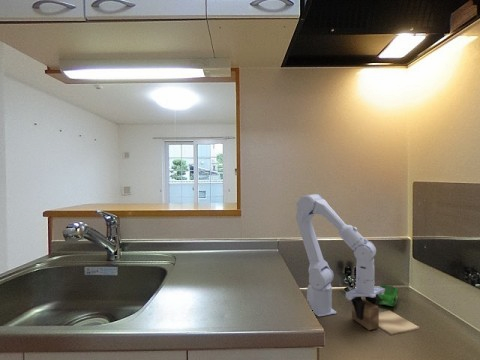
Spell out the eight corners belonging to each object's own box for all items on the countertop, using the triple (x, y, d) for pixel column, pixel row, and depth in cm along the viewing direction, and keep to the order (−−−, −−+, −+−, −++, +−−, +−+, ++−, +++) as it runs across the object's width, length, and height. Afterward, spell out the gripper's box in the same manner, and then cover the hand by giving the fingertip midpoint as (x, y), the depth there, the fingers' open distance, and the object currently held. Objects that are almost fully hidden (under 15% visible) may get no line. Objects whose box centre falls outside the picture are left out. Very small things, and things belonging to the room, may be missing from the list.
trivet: (363, 317, 99) (363, 315, 99) (389, 311, 103) (389, 310, 103) (391, 335, 88) (391, 333, 88) (419, 328, 92) (419, 327, 92)
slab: (368, 330, 90) (369, 308, 90) (351, 317, 98) (352, 298, 98) (378, 327, 92) (378, 307, 91) (361, 316, 99) (361, 296, 99)
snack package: (374, 307, 107) (374, 294, 107) (380, 293, 120) (380, 281, 120) (395, 312, 103) (395, 298, 103) (399, 297, 116) (399, 284, 116)
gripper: (356, 284, 88) (355, 326, 89) (391, 279, 93) (391, 319, 93) (341, 277, 95) (341, 316, 95) (375, 272, 100) (374, 309, 100)
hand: (364, 317), depth 95 cm, fingers closed on slab, 4 cm apart
